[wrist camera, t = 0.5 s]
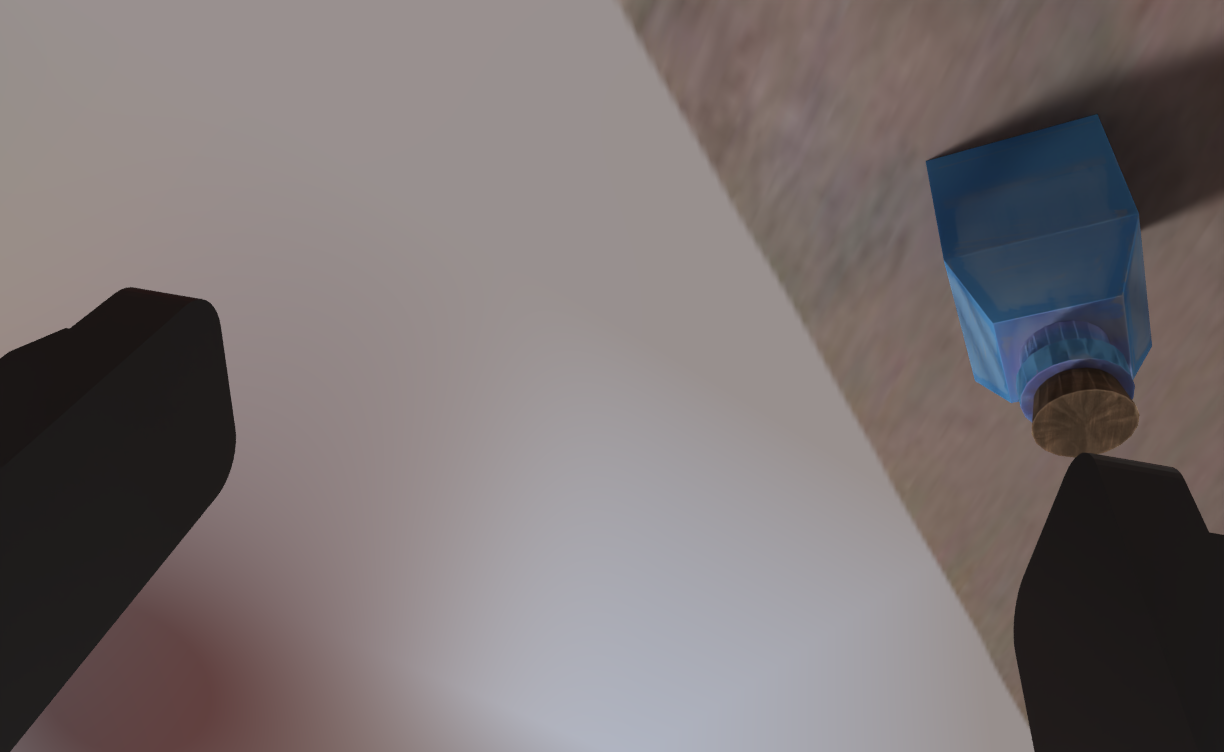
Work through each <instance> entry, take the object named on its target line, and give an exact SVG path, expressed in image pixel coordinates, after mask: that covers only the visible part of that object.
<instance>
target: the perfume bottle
mask: <svg viewBox="0 0 1224 752" xmlns="http://www.w3.org/2000/svg"><path fill="white" fill-rule="evenodd" d="M926 165H927V171H928V176H929V182H930V187H931V192H932V198H933V203H934V209H935V214H936V220H937V225H938V231H939V236H940V242H941V247H942V253H943V258H944V263H945V266H946V270H947V274H948V278H949V282H950V286H951V289H952V293H953V297H954V301H955V305H956V309H957V313H958V316H959V320H960V324H961V328H962V332H963V336H964V340H965V343H966V347H967V351H968V355H969V359H970V363H971V367H972V370H973V374H974V378H975V381H976V382H978V383H979V384H981V385H983V386H984V387H986V388H988V389H989V390H991V391H993V392H994V393H996V394H998V395H999V396H1001V397H1002V398H1004V399H1006V400H1007V401H1009V402H1011V403H1013V402H1020V406H1021V409H1022V411H1023V413H1024V415H1025V417H1026V418H1027V419H1028V420H1030V421H1031V422H1032V435H1033V437H1034V439H1035V441H1036V443H1037V444H1038V445H1039V446H1041V447H1042V448H1043V449H1044V450H1045V451H1048V452H1051V453H1053V454H1056V455H1059V456H1067V457H1077V456H1078V455H1079V454H1081V453H1083V452H1085V453H1092V454H1100V453H1104V452H1107V451H1109V450H1111V449H1113V448H1115V447H1117V446H1119V445H1121V444H1122V443H1123V442H1124V441H1126V440H1127V439H1128V438H1129V437H1131V436H1132V434H1133V432H1134V431H1135V429H1136V428H1137V426H1138V422H1139V412H1138V410H1137V407H1136V405H1135V403H1134V402H1133V401H1132V399H1133V396H1134V389H1135V385H1134V382H1133V379H1134V377H1135V375H1136V374H1137V372H1138V370H1139V368H1140V366H1141V365H1142V363H1143V361H1144V359H1145V357H1146V356H1147V354H1148V352H1149V350H1150V349H1151V347H1152V341H1151V331H1150V321H1149V311H1148V301H1147V291H1146V281H1145V271H1144V261H1143V251H1142V240H1141V230H1140V220H1139V213H1138V210H1137V208H1136V205H1135V203H1134V201H1133V198H1132V196H1131V193H1130V191H1129V189H1128V186H1127V184H1126V182H1125V179H1124V177H1123V174H1122V172H1121V170H1120V167H1119V165H1118V162H1117V160H1116V158H1115V155H1114V153H1113V150H1112V148H1111V146H1110V143H1109V141H1108V138H1107V136H1106V134H1105V131H1104V129H1103V126H1102V124H1101V122H1100V119H1099V117H1098V114H1095V115H1092V116H1088V117H1084V118H1081V119H1077V120H1073V121H1070V122H1066V123H1063V124H1059V125H1055V126H1052V127H1048V128H1044V129H1041V130H1037V131H1034V132H1030V133H1026V134H1023V135H1019V136H1015V137H1012V138H1008V139H1005V140H1001V141H997V142H994V143H990V144H986V145H983V146H979V147H976V148H972V149H968V150H965V151H961V152H957V153H954V154H950V155H946V156H943V157H939V158H936V159H932V160H928V161H926Z"/></svg>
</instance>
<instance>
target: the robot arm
mask: <svg viewBox="0 0 1224 752" xmlns="http://www.w3.org/2000/svg"><path fill="white" fill-rule="evenodd" d="M235 444H236V432H235V423H234V416H233V409H232V402H231V396H230V389H229V381H228V374H227V367H226V360H225V353H224V346H223V339H222V332H221V325H220V320H219V317H218V314H217V312H216V310H215V308H214V307H213V306H212V304H211V303H209V302H208V301H206V300H202V299H198V298H192V297H186V296H180V295H174V294H168V293H162V292H156V291H151V290H145V289H139V288H133V287H130V288H124V289H121V290H120V291H118V292H116V293H115V294H114V295H112V296H111V297H110V298H108V299H107V300H106V301H104V302H103V303H102V304H101V305H99V306H98V307H97V308H96V309H94V310H93V311H92V312H90V313H89V314H88V315H87V316H85V317H84V318H83V319H82V320H80V321H79V322H78V323H76V324H75V325H74V326H72V327H71V328H70V329H68V328H65V329H62V330H60V331H58V332H55V333H53V334H50V335H48V336H46V337H44V338H41V339H38V340H36V341H34V342H31V343H29V344H27V345H24V346H22V347H19V348H17V349H15V350H12V351H11V352H9V353H7V354H6V355H4V356H3V357H2V358H0V752H10V751H11V750H12V749H13V747H14V746H15V745H16V744H17V743H18V741H19V740H20V739H21V738H22V736H23V735H24V734H25V733H26V731H27V730H28V729H29V728H30V727H31V725H32V724H33V723H34V722H35V720H36V719H37V718H38V716H39V715H40V714H41V713H42V712H43V710H44V709H45V708H46V707H47V705H48V704H49V703H50V702H51V700H52V699H53V698H54V697H55V696H56V694H57V693H58V692H59V691H60V689H61V688H62V687H63V686H64V684H65V683H66V682H67V681H68V679H69V678H70V677H71V676H72V675H73V673H74V672H75V671H76V670H77V668H78V667H79V666H80V664H81V663H82V662H83V661H84V660H85V659H86V657H87V656H88V655H89V654H90V652H91V651H92V650H93V649H94V648H95V646H96V645H97V644H98V643H99V641H100V640H101V639H102V638H103V636H104V635H105V634H106V633H107V631H108V630H109V629H110V628H111V627H112V625H113V624H114V623H115V622H116V620H117V619H118V618H119V616H120V615H121V614H122V613H123V612H124V610H125V609H126V608H127V607H128V605H129V604H130V603H131V602H132V601H133V599H134V598H135V597H136V596H137V594H138V593H139V592H140V591H141V590H142V588H143V587H144V586H145V585H146V583H147V582H148V581H149V580H150V578H151V577H152V576H153V575H154V573H155V572H156V571H157V570H158V568H159V567H160V566H161V565H162V563H163V562H164V561H165V560H166V559H167V557H168V556H169V555H170V554H171V552H172V551H173V550H174V549H175V548H176V546H177V545H178V544H179V542H180V541H181V540H182V539H183V538H184V536H185V535H186V534H187V533H188V531H189V530H190V529H191V527H193V525H194V524H195V523H196V521H197V520H198V519H199V518H200V517H201V515H202V514H203V513H204V512H205V510H206V509H207V508H208V507H209V506H210V504H211V503H212V502H213V501H214V499H215V498H216V497H217V496H218V494H219V493H220V491H221V490H222V488H223V486H224V484H225V482H226V480H227V478H228V475H229V472H230V470H231V467H232V463H233V459H234V453H235ZM1014 647H1015V653H1016V659H1017V664H1018V669H1019V674H1020V679H1021V684H1022V689H1023V695H1024V700H1025V705H1026V710H1027V715H1028V720H1029V725H1030V731H1031V735H1032V741H1033V746H1034V751H1035V752H1224V535H1220V534H1215V533H1209V531H1208V529H1207V527H1206V525H1205V523H1204V521H1203V518H1202V516H1201V514H1200V512H1199V510H1198V508H1197V505H1196V503H1195V501H1194V499H1193V497H1192V495H1191V493H1190V490H1189V488H1188V486H1187V484H1186V482H1185V480H1184V478H1183V476H1182V475H1181V473H1180V472H1179V471H1178V470H1177V469H1175V468H1173V467H1168V466H1162V465H1157V464H1151V463H1145V462H1139V461H1133V460H1127V459H1121V458H1116V457H1110V456H1104V455H1098V454H1092V453H1085V452H1083V453H1081V454H1079V455H1078V456H1077V457H1075V459H1074V460H1073V461H1072V463H1071V464H1070V466H1069V468H1068V470H1067V472H1066V474H1065V476H1064V479H1063V481H1062V484H1061V486H1060V488H1059V491H1058V493H1057V496H1056V498H1055V501H1054V503H1053V506H1052V508H1051V510H1050V513H1049V515H1048V518H1047V520H1046V523H1045V525H1044V527H1043V530H1042V532H1041V535H1040V537H1039V540H1038V542H1037V545H1036V547H1035V549H1034V552H1033V554H1032V557H1031V559H1030V562H1029V564H1028V566H1027V569H1026V571H1025V574H1024V576H1023V579H1022V582H1021V585H1020V588H1019V592H1018V596H1017V601H1016V607H1015V616H1014Z"/></svg>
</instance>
